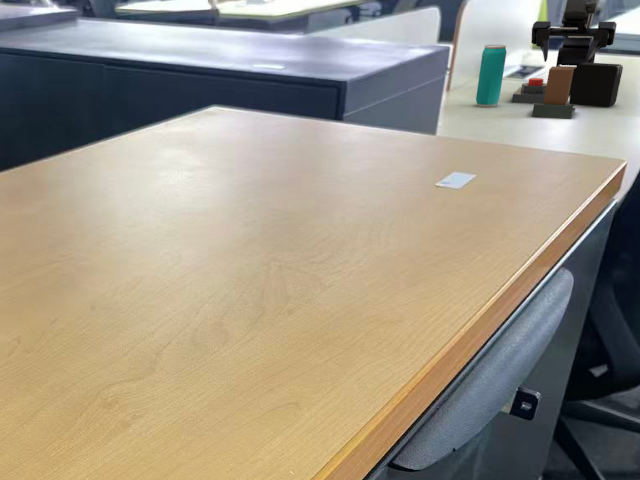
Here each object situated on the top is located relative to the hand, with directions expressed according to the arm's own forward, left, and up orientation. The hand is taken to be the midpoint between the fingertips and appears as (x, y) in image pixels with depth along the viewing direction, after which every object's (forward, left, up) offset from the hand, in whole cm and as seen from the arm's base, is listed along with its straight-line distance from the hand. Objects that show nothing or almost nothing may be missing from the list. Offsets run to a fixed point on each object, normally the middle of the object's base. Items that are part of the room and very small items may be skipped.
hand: (565, 61), depth 212 cm
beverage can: (+11, -13, -12) cm, 21 cm away
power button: (-5, -16, -8) cm, 19 cm away
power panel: (-5, -16, -12) cm, 21 cm away
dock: (+4, +4, -12) cm, 13 cm away
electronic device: (-13, -3, -12) cm, 18 cm away
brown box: (+4, +4, -12) cm, 13 cm away
